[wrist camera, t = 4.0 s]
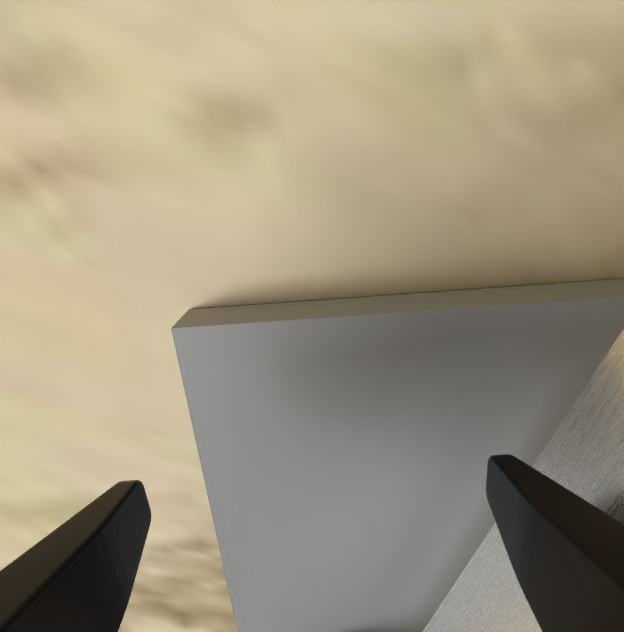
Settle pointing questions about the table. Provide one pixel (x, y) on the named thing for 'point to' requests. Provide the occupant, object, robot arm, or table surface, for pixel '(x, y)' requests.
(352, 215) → the table surface
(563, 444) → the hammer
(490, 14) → the table surface
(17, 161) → the table surface
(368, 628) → the base board
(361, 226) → the table surface
